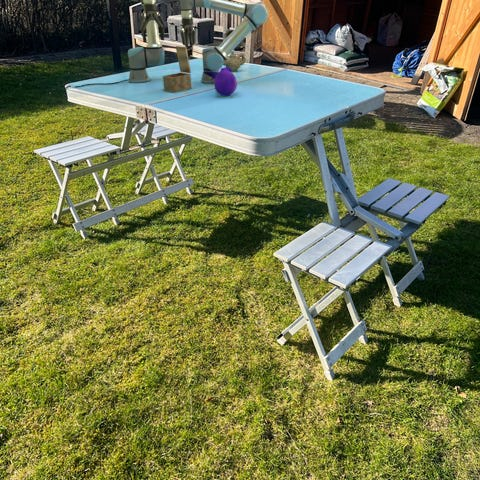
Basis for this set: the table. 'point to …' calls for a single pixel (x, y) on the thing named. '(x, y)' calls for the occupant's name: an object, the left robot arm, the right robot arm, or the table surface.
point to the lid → (183, 59)
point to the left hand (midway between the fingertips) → (153, 41)
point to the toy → (224, 81)
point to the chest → (177, 82)
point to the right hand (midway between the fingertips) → (189, 55)
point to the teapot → (234, 61)
